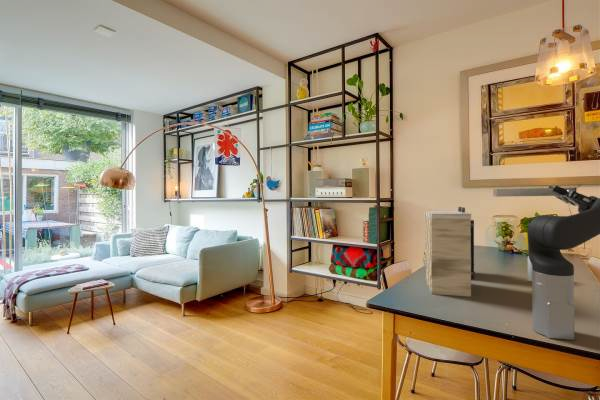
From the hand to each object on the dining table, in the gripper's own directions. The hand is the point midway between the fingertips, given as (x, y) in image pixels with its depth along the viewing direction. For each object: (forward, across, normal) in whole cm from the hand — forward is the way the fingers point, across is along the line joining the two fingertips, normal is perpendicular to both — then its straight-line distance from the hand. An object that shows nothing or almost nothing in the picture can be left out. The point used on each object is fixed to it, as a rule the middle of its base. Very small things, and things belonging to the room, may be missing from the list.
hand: (551, 188), depth 119 cm
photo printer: (-24, -24, +34) cm, 48 cm away
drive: (+4, 0, +6) cm, 7 cm away
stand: (+11, -3, +54) cm, 55 cm away
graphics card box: (+3, -28, +50) cm, 57 cm away
